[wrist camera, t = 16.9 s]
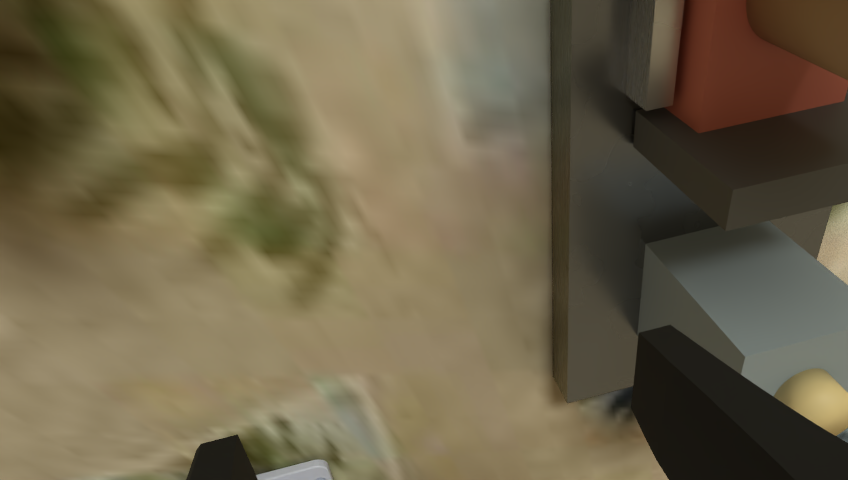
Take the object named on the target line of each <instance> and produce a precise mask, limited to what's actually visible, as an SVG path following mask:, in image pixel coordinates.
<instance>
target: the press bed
mask: <svg viewBox="0 0 848 480" xmlns="http://www.w3.org/2000/svg"><path fill="white" fill-rule="evenodd" d="M683 9H684V0H551V102H552V253H553V377H554V379H555V381H556V383H557V385H558V387H559V389H560V390H561V392H562V394H563V396H564V398H565V400H566V402H567V403H571V402H574V401H578V400H582V399H586V398H590V397H593V396H597V395H601V394H605V393H609V392H612V391H616V390H620V389H624V388H628V387H631V386H633V385H634V375H635V364H636V354H637V344H638V336H637V334H638V322H639V311H640V300H641V289H642V278H643V267H644V256H645V245H646V244H647V243H651V242H655V241H659V240H663V239H668V238H672V237H676V236H680V235H684V234H688V233H692V232H696V231H700V230H704V229H709V228H713V227H717V226H719V225H718V224H717V223H716V222H715V221H714V220H713V219H712V218H710V217H709V216H708V215H707V214H706V213H705V212H704V211H703V210H702V209H701V208H700V207H698V206H697V205H696V204H695V203H694V202H693V201H692V200H691V199H690V198H689V197H688V196H686V195H685V194H684V193H683V192H682V191H681V190H680V189H679V188H678V187H677V186H676V185H674V184H673V183H672V182H671V181H670V180H669V179H668V178H667V177H666V176H665V175H664V174H663V173H661V172H660V171H659V170H658V169H657V168H656V167H655V166H654V165H653V164H652V163H651V162H649V161H648V160H647V159H646V158H645V157H644V156H643V155H642V154H641V153H640V152H639V151H637V150H636V149H635V148H634V147H633V143H634V130H635V116H636V110H641V109H644V110H645V111H649V110H653V109H658V108H663V107H667V106H672V105H673V100H674V91H675V82H676V73H677V64H678V55H679V46H680V36H681V27H682V18H683ZM831 208H832V206H829V207H825V208H820V209H816V210H812V211H808V212H804V213H800V214H795V215H791V216H787V217H783V218H779V219H775V220H770V222H771V223H772V224H774V225H775V226H776V227H777V228H778V229H780V230H781V231H782V232H783V233H785V234H786V235H787V236H788V237H789V238H791V239H792V240H793V241H794V242H795V243H797V244H798V245H799V246H800V247H802V248H803V249H804V250H805V251H806V252H808V253H809V254H810V255H811V256H813V257H814V258H815V259H816V260H817V256H818V253H819V249H820V246H821V243H822V239H823V236H824V232H825V229H826V225H827V222H828V219H829V215H830V212H831Z"/></svg>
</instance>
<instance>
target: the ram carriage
mask: <svg viewBox="0 0 848 480" xmlns="http://www.w3.org/2000/svg"><path fill="white" fill-rule="evenodd" d="M633 147H634V148H635V149H636V150H637V151H639V152H640V153H641V154H642V155H643V156H644V157H645V158H646V159H647V160H648V161H649V162H651V163H652V164H653V165H654V166H655V167H656V168H657V169H658V170H659V171H660V172H661V173H663V174H664V175H665V176H666V177H667V178H668V179H669V180H670V181H671V182H672V183H673V184H674V185H676V186H677V187H678V188H679V189H680V190H681V191H682V192H683V193H684V194H685V195H686V196H688V197H689V198H690V199H691V200H692V201H693V202H694V203H695V204H696V205H697V206H698V207H700V208H701V209H702V210H703V211H704V212H705V213H706V214H707V215H708V216H709V217H710V218H712V219H713V220H714V221H715V222H716V223H717V224H718V225H719V226H720V227H721V228H722V229H723V230H725V231H729V230H733V229H737V228H741V227H745V226H750V225H754V224H758V223H762V222H766V221H770V220H775V219H779V218H783V217H787V216H791V215H795V214H800V213H804V212H808V211H812V210H816V209H820V208H825V207H829V206H833V205H837V204H841V203H845V202H848V0H684V9H683V18H682V27H681V36H680V46H679V55H678V64H677V73H676V82H675V91H674V100H673V105H672V106H667V107H663V108H658V109H653V110H649V111H645V110H644V109H641V110H636V116H635V130H634V143H633Z"/></svg>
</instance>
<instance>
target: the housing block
mask: <svg viewBox="0 0 848 480" xmlns="http://www.w3.org/2000/svg"><path fill="white" fill-rule="evenodd" d="M667 325H671V326H673V327H674V328H676V329H677V330H679V331H680V332H682V333H683V334H684V335H686V336H687V337H689V338H690V339H691V340H693V341H694V342H696V343H697V344H698V345H700V346H701V347H703V348H704V349H706V350H707V351H708V352H710V353H711V354H713V355H714V356H715V357H717V358H718V359H720V360H721V361H722V362H724V363H725V364H727V365H728V366H730V367H731V368H732V369H734V370H735V371H737V372H738V373H739V374H741V375H742V376H744V377H745V378H747V379H748V380H750V381H751V382H753V383H754V384H755V385H757V386H758V387H760V388H761V389H763V390H764V391H766V392H767V393H769V394H770V395H772V396H773V397H775V398H776V399H778V400H779V401H781V402H782V403H784V404H785V405H787V406H788V407H790V408H791V409H793V410H795V411H796V412H798V413H799V414H801V415H802V416H804V417H805V418H807V419H809V420H810V421H812V422H813V423H815V424H817V425H818V426H820V427H822V428H823V429H825V430H827V431H828V432H830V433H832V434H833V435H835V436H836V435H838V434H839V433H841V432H842V431H844V430H845V429H846V428H847V427H848V285H847V284H845V283H844V282H843V281H842V280H841V279H839V278H838V277H837V276H836V275H834V274H833V273H832V272H831V271H830V270H828V269H827V268H826V267H825V266H824V265H822V264H821V263H820V262H819V261H817V260H816V259H815V258H814V257H813V256H811V255H810V254H809V253H808V252H806V251H805V250H804V249H803V248H802V247H800V246H799V245H798V244H797V243H795V242H794V241H793V240H792V239H791V238H789V237H788V236H787V235H786V234H785V233H783V232H782V231H781V230H780V229H778V228H777V227H776V226H775V225H774V224H772V223H771V222H770V221H766V222H762V223H758V224H754V225H750V226H745V227H741V228H737V229H733V230H729V231H725V230H723V229H722V228H721V227H720V226H717V227H713V228H709V229H704V230H700V231H696V232H692V233H688V234H684V235H680V236H676V237H672V238H668V239H663V240H659V241H655V242H651V243H647V244H646V245H645V256H644V267H643V278H642V289H641V300H640V311H639V322H638V334H639V332H643V331H647V330H651V329H655V328H659V327H663V326H667ZM638 334H637V336H638Z"/></svg>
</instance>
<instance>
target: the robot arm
mask: <svg viewBox="0 0 848 480" xmlns="http://www.w3.org/2000/svg"><path fill="white" fill-rule="evenodd" d="M631 408H632V411H633V413H634V415H635V417H636V419H637V421H638V423H639V425H640V427H641V430H642V432H643V434H644V436H645V438H646V440H647V442H648V444H649V446H650V448H651V450H652V452H653V454H654V456H655V458H656V460H657V461H658V463H659V465H660V466H661V468H662V469H663V471H664V473H665V474H666V476H667V477H668V479H669V480H848V443H846V442H845V441H843V440H841V439H840V438H838V437H837V436H835V435H833V434H832V433H830V432H828V431H827V430H825V429H823V428H822V427H820V426H818V425H817V424H815V423H813V422H812V421H810V420H809V419H807V418H805V417H804V416H802V415H801V414H799V413H798V412H796V411H795V410H793V409H791V408H790V407H788V406H787V405H785V404H784V403H782V402H781V401H779V400H778V399H776V398H775V397H773V396H772V395H770V394H769V393H767V392H766V391H764V390H763V389H761V388H760V387H758V386H757V385H755V384H754V383H753V382H751V381H750V380H748V379H747V378H745V377H744V376H742V375H741V374H739V373H738V372H737V371H735V370H734V369H732V368H731V367H730V366H728V365H727V364H725V363H724V362H722V361H721V360H720V359H718V358H717V357H715V356H714V355H713V354H711V353H710V352H708V351H707V350H706V349H704V348H703V347H701V346H700V345H698V344H697V343H696V342H694V341H693V340H691V339H690V338H689V337H687V336H686V335H684V334H683V333H682V332H680V331H679V330H677V329H676V328H674V327H673V326H671V325H667V326H663V327H659V328H655V329H651V330H647V331H643V332H639V334H638V344H637V354H636V364H635V375H634V385H633V395H632V405H631ZM186 480H333V477H332V474H331V471H330V468H329V465H328V463H327V462H326V461H324V460H320V459H317V460H312V461H308V462H304V463H300V464H296V465H293V466H289V467H285V468H281V469H277V470H273V471H270V472H266V473H262V474H258V475H256V474H255V472H254V470H253V468H252V466H251V463H250V461H249V459H248V457H247V455H246V452H245V450H244V448H243V446H242V443H241V441H240V439H239V437H238V435H234V436H230V437H227V438H223V439H219V440H215V441H211V442H207V443H203V444H201V445H200V446H199V447H198V449H197V450H196V453H195V456H194V459H193V462H192V465H191V468H190V471H189V474H188V477H187V479H186Z"/></svg>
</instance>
